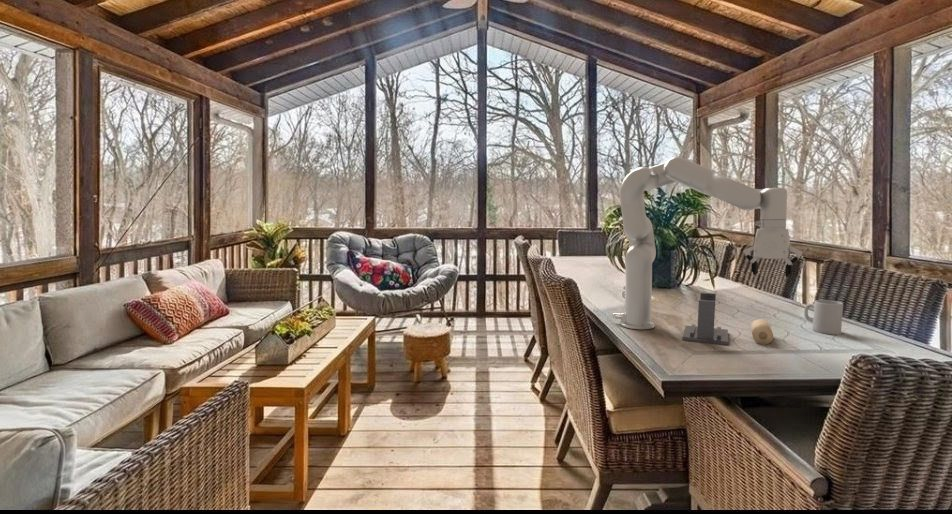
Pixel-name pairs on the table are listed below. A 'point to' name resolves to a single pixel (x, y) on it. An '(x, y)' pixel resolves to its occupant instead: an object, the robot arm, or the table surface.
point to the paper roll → (761, 331)
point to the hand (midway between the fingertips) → (771, 275)
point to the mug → (826, 316)
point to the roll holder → (706, 323)
